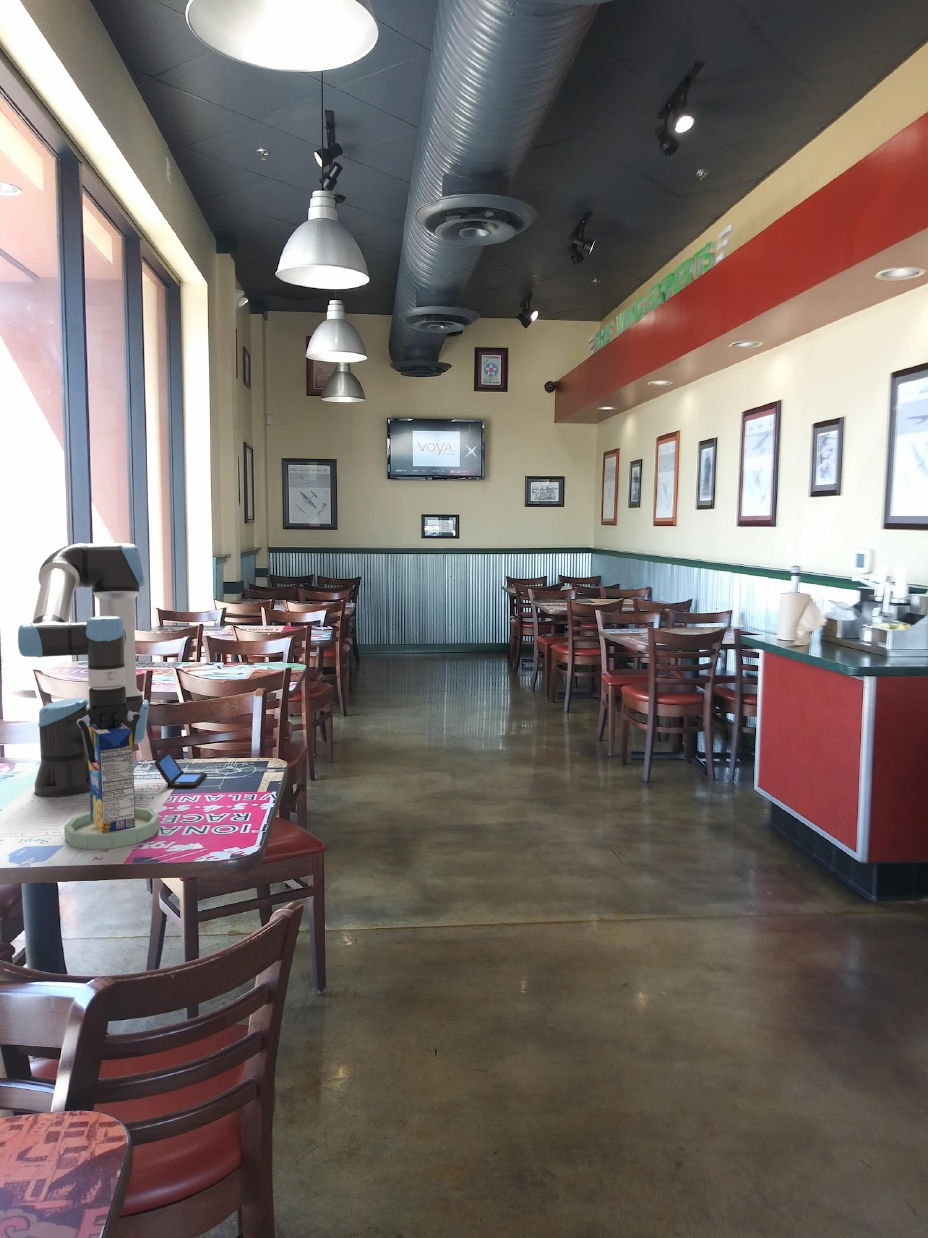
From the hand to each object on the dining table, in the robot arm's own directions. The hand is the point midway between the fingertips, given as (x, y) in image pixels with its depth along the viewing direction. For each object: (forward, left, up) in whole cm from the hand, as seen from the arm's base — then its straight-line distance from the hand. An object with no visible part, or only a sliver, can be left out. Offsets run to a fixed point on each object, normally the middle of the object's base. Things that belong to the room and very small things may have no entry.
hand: (111, 790), depth 190 cm
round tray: (0, 0, -10) cm, 10 cm away
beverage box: (0, 0, -8) cm, 8 cm away
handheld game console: (-31, +25, -10) cm, 42 cm away
